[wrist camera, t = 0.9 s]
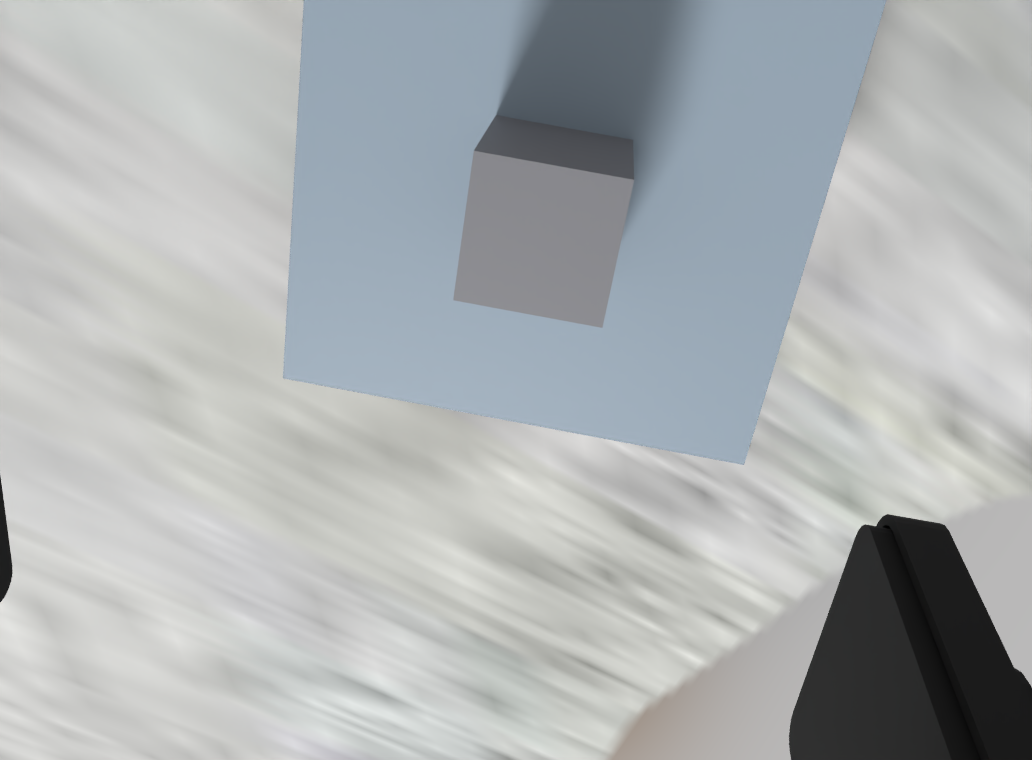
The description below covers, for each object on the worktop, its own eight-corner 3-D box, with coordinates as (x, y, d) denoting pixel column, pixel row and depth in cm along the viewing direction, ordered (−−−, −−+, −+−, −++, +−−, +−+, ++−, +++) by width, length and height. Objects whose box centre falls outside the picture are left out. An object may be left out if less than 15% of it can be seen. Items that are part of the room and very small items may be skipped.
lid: (740, 447, 29) (760, 545, 25) (293, 364, 29) (234, 446, 25) (888, -44, 23) (951, -32, 19) (324, -143, 23) (252, -155, 19)
